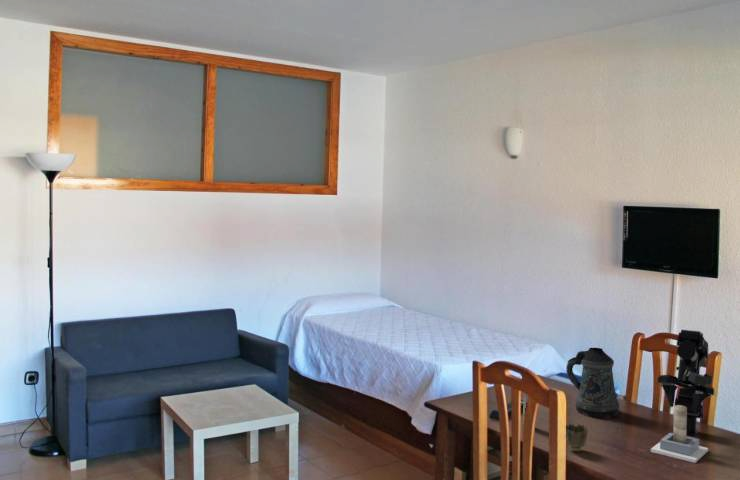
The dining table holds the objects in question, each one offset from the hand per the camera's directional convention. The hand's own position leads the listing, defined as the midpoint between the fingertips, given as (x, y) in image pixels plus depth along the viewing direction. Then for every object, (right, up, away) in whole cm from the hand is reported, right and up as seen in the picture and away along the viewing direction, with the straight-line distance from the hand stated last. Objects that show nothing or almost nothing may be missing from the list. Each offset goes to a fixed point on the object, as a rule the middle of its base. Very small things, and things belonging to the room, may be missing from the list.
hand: (683, 410), depth 238 cm
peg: (-4, -11, -7) cm, 14 cm away
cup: (-39, -12, -7) cm, 42 cm away
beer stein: (-20, -9, +34) cm, 41 cm away
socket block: (-4, -12, -7) cm, 15 cm away
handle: (-50, -10, +15) cm, 53 cm away
